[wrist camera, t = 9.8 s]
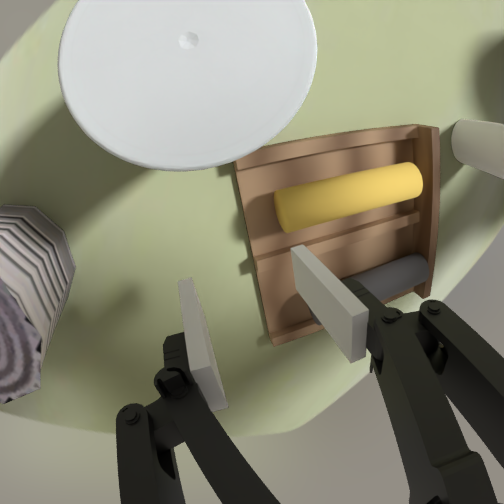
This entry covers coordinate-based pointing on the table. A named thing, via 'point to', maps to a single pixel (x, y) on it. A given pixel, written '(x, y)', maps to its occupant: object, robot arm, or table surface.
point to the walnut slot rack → (340, 230)
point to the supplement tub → (185, 76)
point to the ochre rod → (345, 195)
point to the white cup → (479, 145)
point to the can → (29, 294)
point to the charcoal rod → (392, 277)
